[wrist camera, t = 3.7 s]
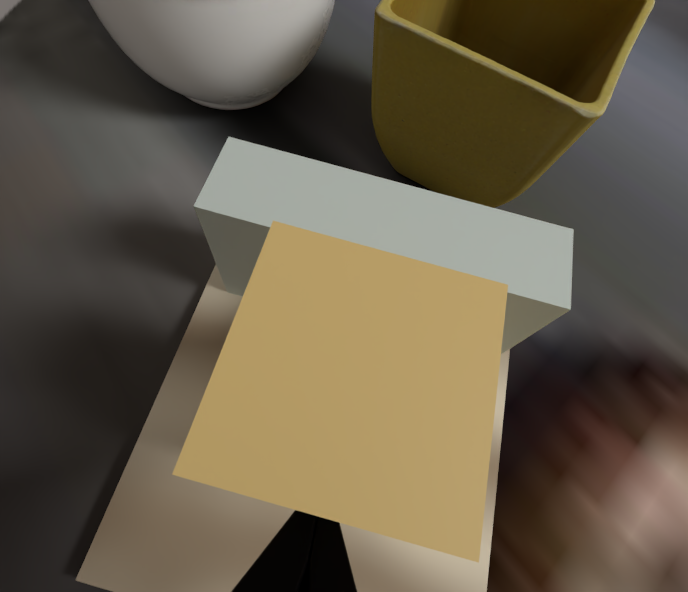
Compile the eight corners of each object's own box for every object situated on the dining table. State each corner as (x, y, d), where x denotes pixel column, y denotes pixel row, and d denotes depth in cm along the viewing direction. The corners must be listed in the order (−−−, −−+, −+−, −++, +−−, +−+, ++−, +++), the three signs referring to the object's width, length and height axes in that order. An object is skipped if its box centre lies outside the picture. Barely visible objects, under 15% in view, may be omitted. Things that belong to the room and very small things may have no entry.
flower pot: (418, 84, 27) (470, -94, 18) (546, 149, 25) (663, -11, 17) (345, 176, 23) (369, 8, 15) (489, 255, 22) (601, 120, 14)
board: (469, 690, 15) (476, 698, 14) (83, 576, 15) (75, 580, 14) (512, 270, 22) (518, 265, 21) (249, 198, 22) (247, 191, 21)
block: (376, 516, 16) (478, 562, 7) (246, 479, 16) (172, 474, 7) (413, 331, 19) (518, 190, 10) (304, 301, 19) (307, 133, 10)
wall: (485, 364, 19) (570, 309, 13) (227, 292, 19) (193, 206, 13) (493, 304, 20) (573, 229, 14) (250, 237, 20) (228, 136, 14)
